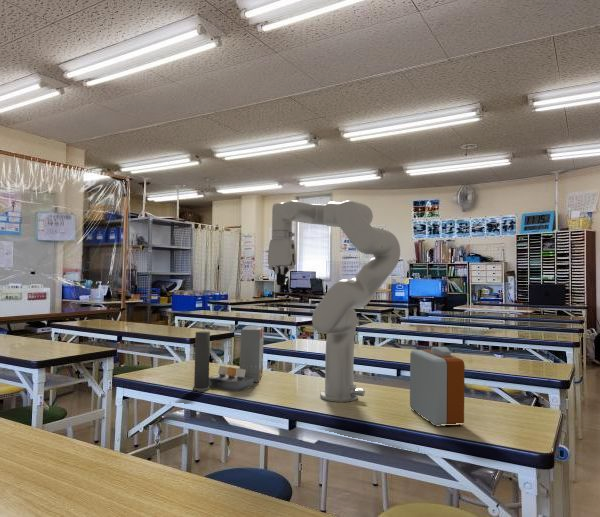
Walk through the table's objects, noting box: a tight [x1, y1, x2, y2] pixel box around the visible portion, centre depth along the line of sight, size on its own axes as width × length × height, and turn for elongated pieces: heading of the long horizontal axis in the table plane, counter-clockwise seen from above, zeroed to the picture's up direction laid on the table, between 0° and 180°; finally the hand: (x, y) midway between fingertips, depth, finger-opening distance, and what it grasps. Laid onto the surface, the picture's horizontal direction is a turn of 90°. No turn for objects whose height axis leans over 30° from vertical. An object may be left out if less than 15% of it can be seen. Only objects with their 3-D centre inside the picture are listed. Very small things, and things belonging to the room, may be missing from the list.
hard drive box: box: [239, 325, 265, 383], centre depth 184 cm, size 16×8×20 cm, turn 179°
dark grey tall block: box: [192, 331, 211, 392], centre depth 165 cm, size 6×6×20 cm
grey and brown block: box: [409, 346, 466, 425], centre depth 137 cm, size 18×9×21 cm, turn 9°
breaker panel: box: [209, 374, 254, 392], centre depth 170 cm, size 14×9×3 cm, turn 62°
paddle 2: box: [227, 366, 237, 378], centre depth 170 cm, size 2×3×4 cm, turn 152°
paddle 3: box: [217, 365, 229, 376], centre depth 172 cm, size 2×3×4 cm, turn 152°
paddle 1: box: [236, 367, 246, 379], centre depth 168 cm, size 2×3×4 cm, turn 151°
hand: (280, 285), depth 174 cm, fingers closed
